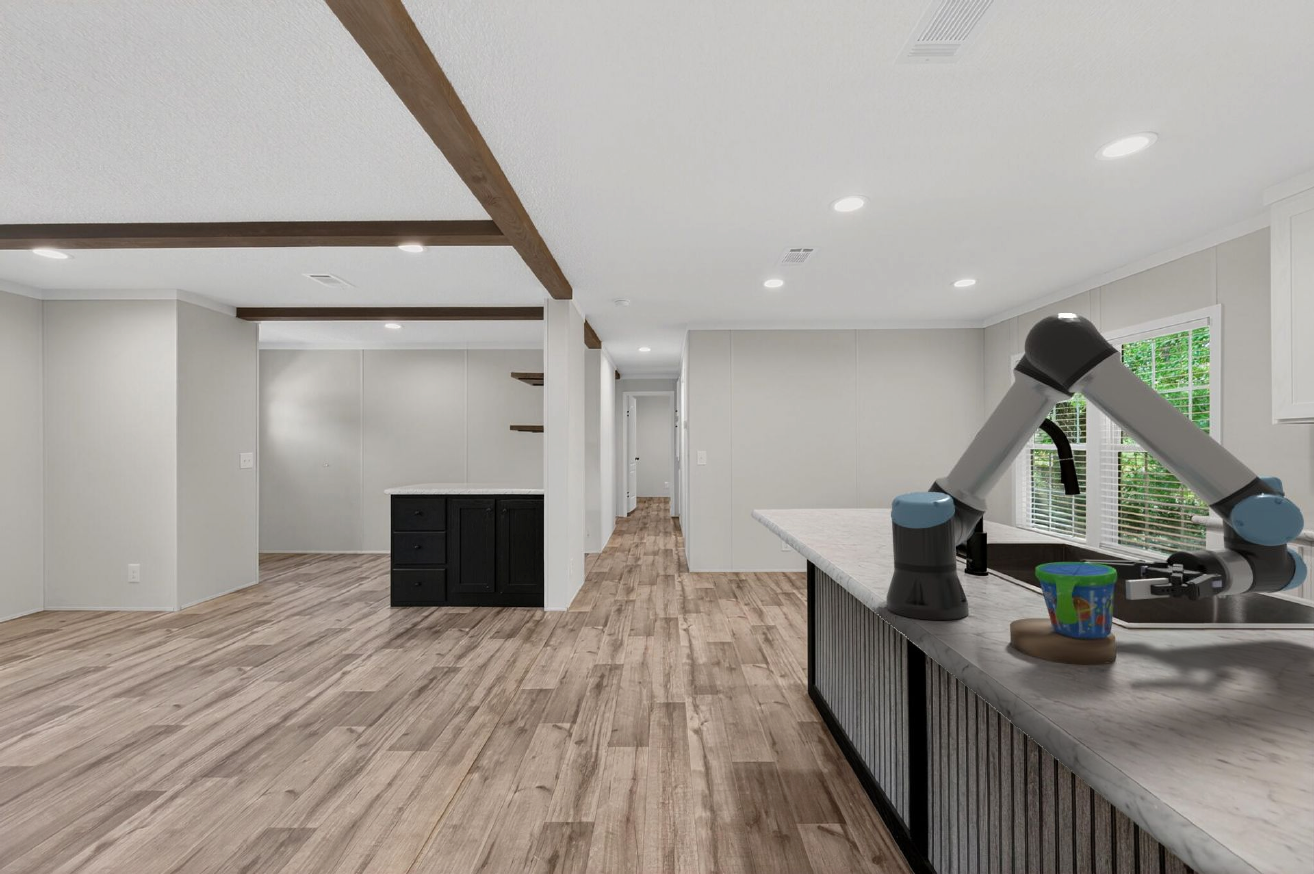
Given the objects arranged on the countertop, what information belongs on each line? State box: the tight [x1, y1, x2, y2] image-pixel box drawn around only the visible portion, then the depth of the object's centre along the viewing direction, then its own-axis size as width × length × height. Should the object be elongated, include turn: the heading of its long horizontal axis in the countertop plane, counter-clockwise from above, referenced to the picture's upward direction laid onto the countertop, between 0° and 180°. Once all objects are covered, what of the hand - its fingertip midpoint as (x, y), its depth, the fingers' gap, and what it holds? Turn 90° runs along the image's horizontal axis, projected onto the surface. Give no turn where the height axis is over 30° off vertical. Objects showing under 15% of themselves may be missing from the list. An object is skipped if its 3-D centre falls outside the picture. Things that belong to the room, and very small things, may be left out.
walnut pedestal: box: [1009, 617, 1117, 666], centre depth 96 cm, size 14×14×3 cm
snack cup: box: [1034, 561, 1118, 639], centre depth 93 cm, size 16×10×10 cm
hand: (1089, 580), depth 96 cm, fingers open, 13 cm apart
